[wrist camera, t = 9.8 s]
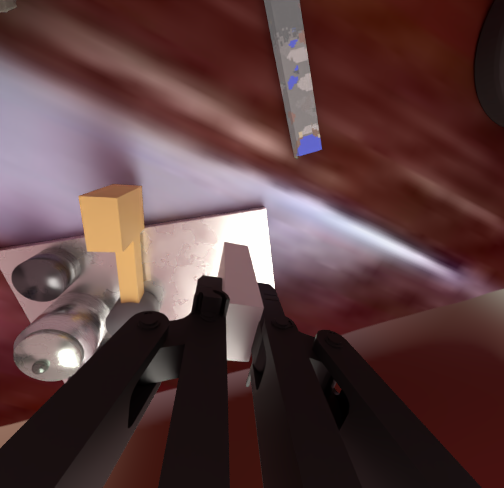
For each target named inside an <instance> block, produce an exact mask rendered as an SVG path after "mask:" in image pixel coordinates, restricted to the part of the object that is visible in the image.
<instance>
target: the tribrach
mask: <svg viewBox="0 0 504 488" xmlns="http://www.w3.org/2000/svg"><path fill="white" fill-rule="evenodd" d="M224 242H229V243H235V244H241V245H247V246H248V248H249V252H250V256H251V259H252V263H253V267H254V271H255V275H256V279H257V282H259V283H266V284H270V285H271V286H272V287H273V288H274V278H273V269H272V260H271V251H270V241H269V232H268V223H267V213H266V208H265V207H260V208H253V209H247V210H240V211H234V212H228V213H221V214H215V215H209V216H202V217H196V218H189V219H183V220H177V221H170V222H164V223H158V224H151V225H145V226H144V229H143V231H142V232H141V233H140V243H141V256H142V269H143V283H144V290H145V291H148V292H150V293H152V294H153V295H154V296H155V297H156V298H157V300H158V301H159V304H160V311H159V312H160V313H163V314H165V315H166V316H167V317H168V319H169V321H171V320H178V319H181V318H184V317H186V316H187V315H189V314H190V313H191V311H192V305H193V299H194V294H195V292H196V286H197V281H198V279H199V278H200V277H201V276H202V275H206V276H213V277H218V272H219V267H220V261H221V256H222V251H223V246H224ZM0 269H1V271H2V273H3V275H4V276H5V278H6V280H7V282H8V283H9V285H10V287H11V289H12V291H13V292H14V294H15V296H16V298H17V299H18V301H19V303H20V305H21V307H22V308H23V310H24V312H25V314H26V315H27V317H28V319H29V321H30V323H31V324H30V325H29V326H28V327H27V328H25V329H24V330H23V331H22V332H21V333H20V334H19V335H18V337H17V338H16V340H15V343H14V361H15V363H16V365H17V367H18V368H19V369H20V370H21V371H22V372H23V373H25V374H26V375H28V376H30V377H32V378H35V379H38V380H43V381H59V380H63V381H64V383H66V382H67V381H68V380H69V379H70V378H71V377H72V376H73V375H74V374H75V373H76V372H77V371H78V370H79V369H80V368H81V367H82V366H83V365H84V364H85V363H86V362H87V361H88V360H89V359H90V358H91V357H92V356H93V355H94V354H95V353H96V352H97V351H98V350H99V349H100V348H101V347H102V346H103V345H104V344H105V343H106V342H107V341H108V340H109V339H110V338H111V337H112V336H111V335H110V334H109V333H108V331H107V329H106V326H105V320H106V318H107V316H108V314H109V313H110V311H111V309H112V308H113V306H114V305H115V303H116V302H117V300H118V299H119V297H120V290H119V281H118V272H117V263H116V255H115V252H87V247H86V241H85V235H81V236H75V237H68V238H62V239H56V240H49V241H43V242H36V243H30V244H24V245H17V246H11V247H5V248H0ZM274 289H275V288H274Z"/></svg>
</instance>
